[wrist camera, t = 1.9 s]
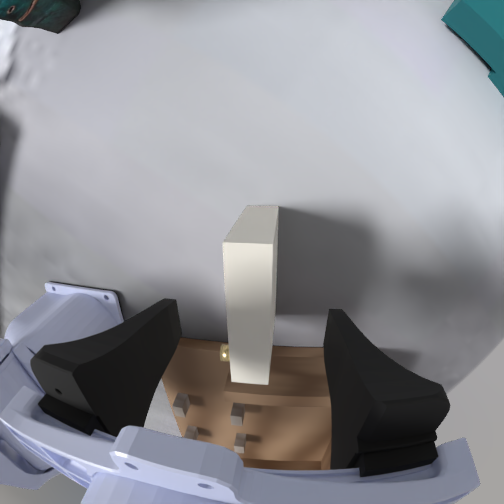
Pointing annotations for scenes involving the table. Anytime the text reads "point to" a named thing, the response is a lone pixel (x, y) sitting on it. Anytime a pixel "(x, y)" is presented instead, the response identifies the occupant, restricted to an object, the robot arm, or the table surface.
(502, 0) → the teal l-shaped bracket
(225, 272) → the door
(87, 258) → the table surface
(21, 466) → the robot arm
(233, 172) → the table surface
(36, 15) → the ceramic cat
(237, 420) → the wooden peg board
